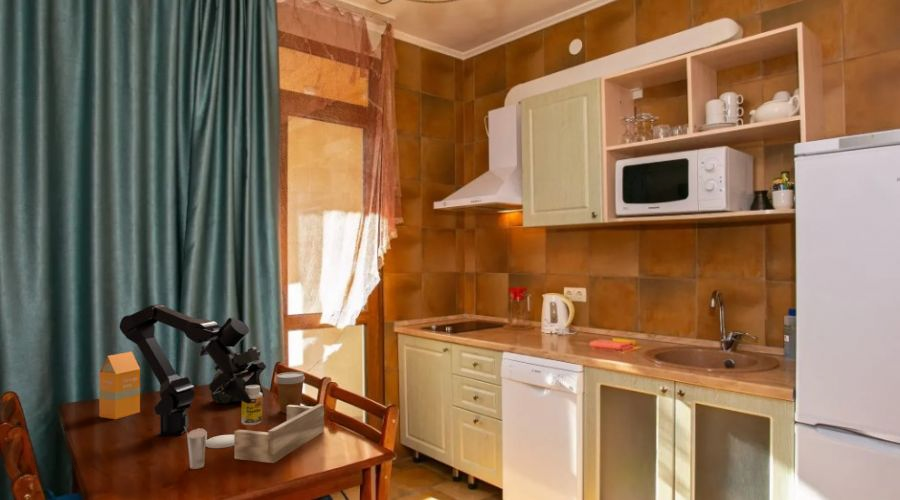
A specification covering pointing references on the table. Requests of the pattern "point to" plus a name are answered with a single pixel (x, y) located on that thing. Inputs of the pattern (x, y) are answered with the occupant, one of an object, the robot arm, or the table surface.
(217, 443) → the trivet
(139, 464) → the table surface
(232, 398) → the squash
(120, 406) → the orange juice
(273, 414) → the table surface
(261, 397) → the supplement bottle
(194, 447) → the milkshake
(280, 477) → the table surface
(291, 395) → the disposable coffee cup
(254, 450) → the wooden u-shaped barrier
